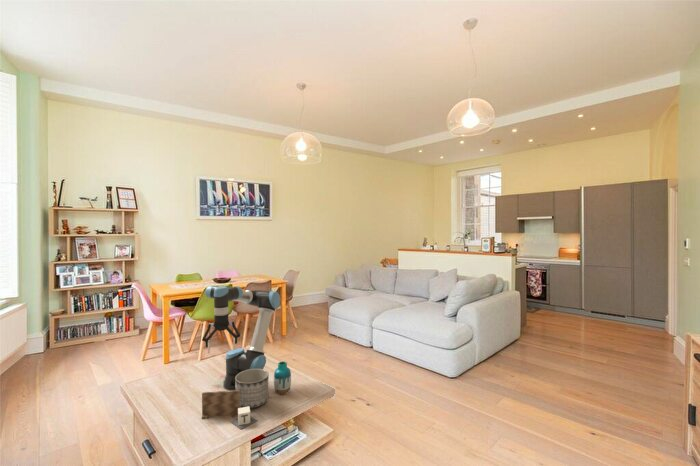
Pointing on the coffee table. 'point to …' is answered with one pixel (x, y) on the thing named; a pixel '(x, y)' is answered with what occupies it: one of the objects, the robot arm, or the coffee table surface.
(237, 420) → the mat
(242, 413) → the cream cube
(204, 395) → the walnut screen
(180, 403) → the coffee table surface
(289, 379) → the vase
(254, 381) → the planter
